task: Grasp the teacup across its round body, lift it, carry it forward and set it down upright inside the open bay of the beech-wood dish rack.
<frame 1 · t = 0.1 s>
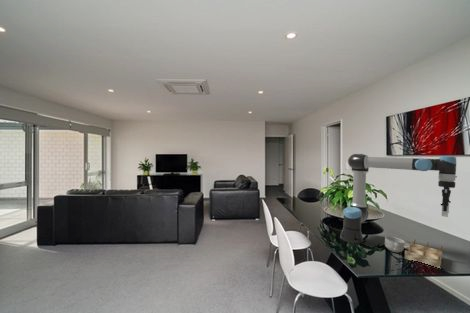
hand: (445, 214, 134), 28 cm above the table, fingers open, 13 cm apart
teacup: (394, 251, 143), on the table
rack: (423, 258, 134), on the table
saucer: (401, 245, 154), on the table
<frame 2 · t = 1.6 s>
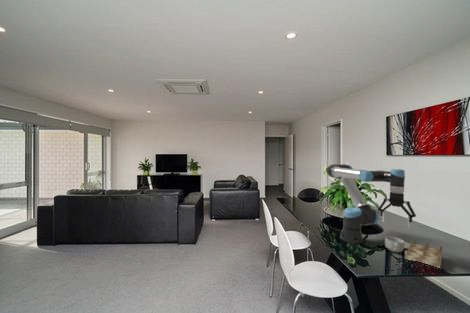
hand: (395, 224, 142), 18 cm above the table, fingers open, 13 cm apart
nothing on the table moved.
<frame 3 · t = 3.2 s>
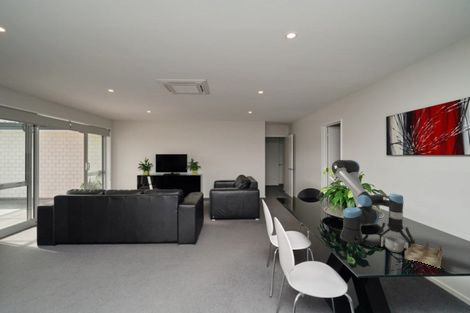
hand: (394, 249, 143), 1 cm above the table, fingers open, 13 cm apart
nothing on the table moved.
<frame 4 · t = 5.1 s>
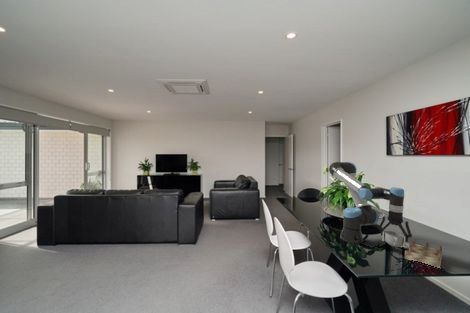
hand: (393, 243, 143), 5 cm above the table, fingers closed on teacup, 11 cm apart
teacup: (393, 245, 143), point 3 cm above the table, touching gripper
everything else where it was.
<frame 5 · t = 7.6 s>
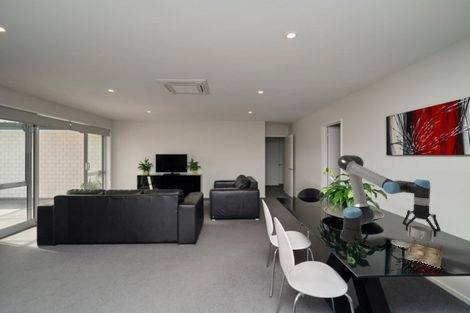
hand: (420, 238, 135), 12 cm above the table, fingers closed on teacup, 11 cm apart
teacup: (420, 241, 135), point 10 cm above the table, touching gripper
everything else where it was.
when the fingers open (3 cm above the table, at t = 10.1 s): teacup stays where it is, resting on rack.
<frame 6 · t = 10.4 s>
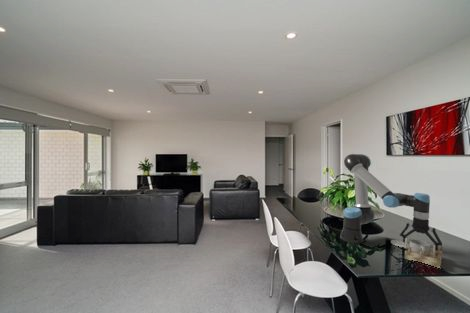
hand: (419, 251, 135), 4 cm above the table, fingers open, 13 cm apart
teacup: (419, 255, 135), point 1 cm above the table, touching rack
everything else where it was.
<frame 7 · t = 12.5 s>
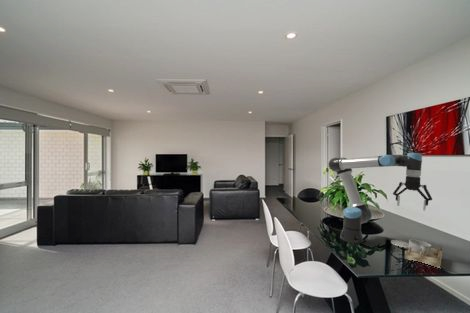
hand: (410, 207, 143), 29 cm above the table, fingers open, 13 cm apart
nothing on the table moved.
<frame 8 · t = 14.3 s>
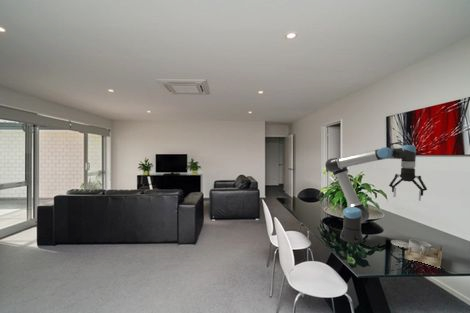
hand: (406, 198, 147), 35 cm above the table, fingers open, 13 cm apart
nothing on the table moved.
at the end: teacup inside the target area on the rack (1.4 cm from its centre), point 1.0 cm above the rack's base; teacup tilted 0°; the gripper is holding nothing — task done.
